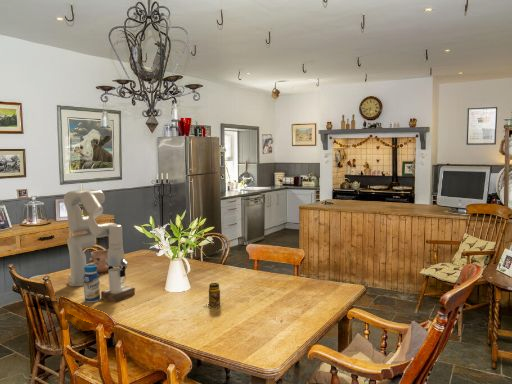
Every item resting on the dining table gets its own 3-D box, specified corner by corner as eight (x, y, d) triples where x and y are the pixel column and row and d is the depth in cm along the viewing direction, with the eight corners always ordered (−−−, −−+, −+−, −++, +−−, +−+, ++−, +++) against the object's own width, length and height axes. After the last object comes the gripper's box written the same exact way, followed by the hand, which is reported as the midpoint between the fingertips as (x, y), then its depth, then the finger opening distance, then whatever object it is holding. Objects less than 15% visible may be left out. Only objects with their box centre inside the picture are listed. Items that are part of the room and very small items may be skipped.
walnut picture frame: (101, 298, 245) (101, 291, 245) (120, 291, 257) (120, 284, 257) (116, 301, 239) (115, 294, 238) (134, 294, 251) (134, 287, 250)
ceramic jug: (96, 276, 289) (95, 255, 287) (84, 272, 297) (83, 252, 296) (119, 270, 303) (118, 250, 302) (107, 267, 312) (106, 247, 310)
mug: (112, 292, 242) (111, 272, 240) (107, 290, 246) (106, 269, 245) (129, 288, 248) (128, 268, 247) (123, 286, 253) (122, 266, 252)
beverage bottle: (96, 296, 248) (94, 262, 246) (102, 300, 242) (101, 265, 240) (82, 300, 242) (80, 265, 240) (88, 304, 236) (86, 268, 234)
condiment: (217, 308, 227) (217, 286, 226) (203, 306, 230) (202, 285, 229) (223, 303, 234) (222, 282, 233) (208, 302, 237) (208, 281, 236)
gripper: (100, 245, 246) (101, 274, 248) (121, 249, 238) (122, 279, 239) (110, 243, 253) (111, 271, 255) (131, 246, 244) (132, 275, 246)
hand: (116, 275), depth 247 cm, fingers open, 9 cm apart
